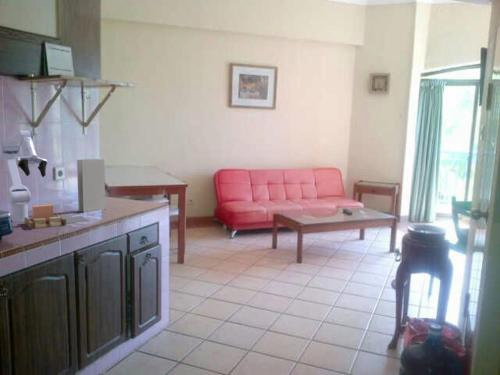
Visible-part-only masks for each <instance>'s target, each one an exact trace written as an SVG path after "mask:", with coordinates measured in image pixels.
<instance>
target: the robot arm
mask: <svg viewBox="0 0 500 375" xmlns="http://www.w3.org/2000/svg"><path fill="white" fill-rule="evenodd" d="M33 140H34V134H33V131H32V130H30V129H29V130H25V129H24V130H23V129H22V130H18V131H16V132H15V133H13V135H12V136H8V137H4V138H1V139H0V158H2V159H3V160H4V163H5V166H6V170H7V174H8V177H9V181H10V182H9V183H10V187H9V188H8V189H7V191H6V194H7V201H8V203H9V204H10V205H11V217H10V218H11V219H10V221H12V222H13V223H17V222H18V223H20V222H25V220H24V218H25V217H27V218H28V219H30V218H29V211H28V209H29V206H28V204H29V203H30V201H31V199H32V196H31V195H32V194H31V192H30V190H29V188H28V186H26V185H24V184H22V180H21V177H20V173H19V170H18V168H20V169H21V170H22V172H24V174H25V176H26V177H29V176H30V174H31V171H30V168H29V165H35V164H38V166H37V169H38V171H39V173H40V175H41V177H42V178H44V177H45V176H46V169H47V164H48V160H47V159H46V158H42V157H39V156H38V154H37V151H36V147H35V144H34V141H33ZM21 152H22V155H23V156H20V153H21Z"/></svg>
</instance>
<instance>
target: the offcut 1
mask: <svg viewBox="0 0 500 375" xmlns="http://www.w3.org/2000/svg"><path fill="white" fill-rule="evenodd" d="M32 219H33V218H32ZM33 220H34V228H40V229H43V228H42V227H46V219H45V218H39V219H33Z"/></svg>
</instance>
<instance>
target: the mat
mask: <svg viewBox="0 0 500 375" xmlns="http://www.w3.org/2000/svg"><path fill="white" fill-rule="evenodd" d="M63 218H64V219H66V225H67V224H75V223H76V224H77V223H83V222H84V223H85V222H90V220H89V219H88V218H86V217H84V216H82V215H77V216H69V217H66V216H65V217H63Z"/></svg>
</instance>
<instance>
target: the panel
mask: <svg viewBox="0 0 500 375" xmlns="http://www.w3.org/2000/svg"><path fill="white" fill-rule="evenodd" d="M49 217H54V205H53V204H52V203H51V204H42V205H32V219H39V218H45V219H46V220H49ZM33 222H34V220H33Z"/></svg>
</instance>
